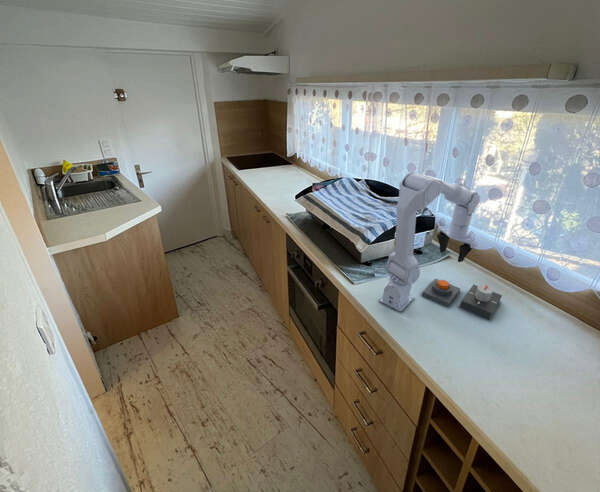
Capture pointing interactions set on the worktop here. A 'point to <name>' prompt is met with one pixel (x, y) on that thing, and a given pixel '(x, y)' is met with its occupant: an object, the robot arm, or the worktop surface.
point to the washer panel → (480, 303)
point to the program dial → (483, 293)
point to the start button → (443, 284)
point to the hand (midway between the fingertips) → (451, 256)
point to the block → (441, 293)
